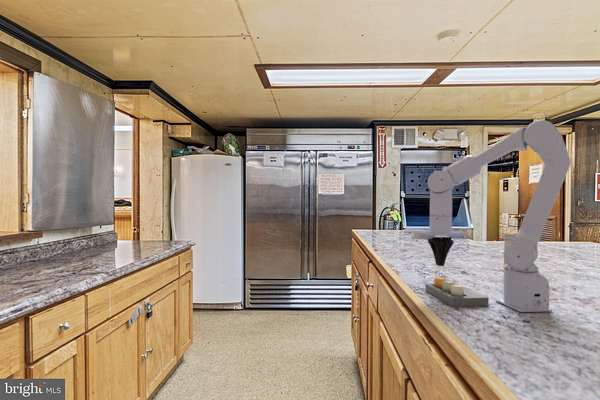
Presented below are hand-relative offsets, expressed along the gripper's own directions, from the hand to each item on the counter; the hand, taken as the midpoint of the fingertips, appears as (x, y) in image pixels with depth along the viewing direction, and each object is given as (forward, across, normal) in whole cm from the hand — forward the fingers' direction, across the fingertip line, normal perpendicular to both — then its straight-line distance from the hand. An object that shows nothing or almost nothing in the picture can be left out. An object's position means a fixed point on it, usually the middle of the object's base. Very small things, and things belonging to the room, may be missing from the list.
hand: (439, 265), depth 102 cm
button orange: (+6, 0, 0) cm, 6 cm away
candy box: (+8, -32, -13) cm, 35 cm away
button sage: (+6, 0, +5) cm, 8 cm away
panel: (+8, -2, +5) cm, 9 cm away
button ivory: (+6, 0, +9) cm, 11 cm away
